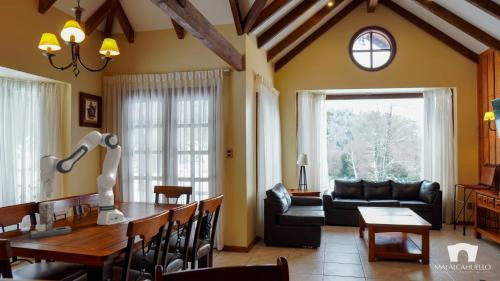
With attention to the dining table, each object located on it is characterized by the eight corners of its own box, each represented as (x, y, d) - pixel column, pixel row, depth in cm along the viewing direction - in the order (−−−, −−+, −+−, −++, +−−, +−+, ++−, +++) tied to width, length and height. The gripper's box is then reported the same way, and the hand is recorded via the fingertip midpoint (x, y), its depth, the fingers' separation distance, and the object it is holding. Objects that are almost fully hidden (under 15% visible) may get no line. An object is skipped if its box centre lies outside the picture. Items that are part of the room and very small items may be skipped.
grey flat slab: (69, 230, 258) (69, 225, 258) (71, 232, 250) (71, 228, 250) (30, 235, 244) (30, 230, 244) (31, 238, 236) (31, 233, 236)
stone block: (49, 230, 257) (49, 203, 258) (38, 231, 256) (38, 204, 256) (54, 226, 270) (54, 200, 270) (44, 227, 269) (44, 201, 269)
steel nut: (44, 234, 247) (44, 223, 247) (45, 235, 243) (45, 224, 243) (37, 235, 244) (37, 223, 244) (37, 236, 241) (37, 225, 241)
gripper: (54, 178, 244) (55, 198, 244) (51, 176, 261) (52, 195, 261) (44, 179, 240) (45, 199, 240) (41, 177, 257) (42, 196, 257)
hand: (48, 197), depth 251 cm, fingers open, 8 cm apart
